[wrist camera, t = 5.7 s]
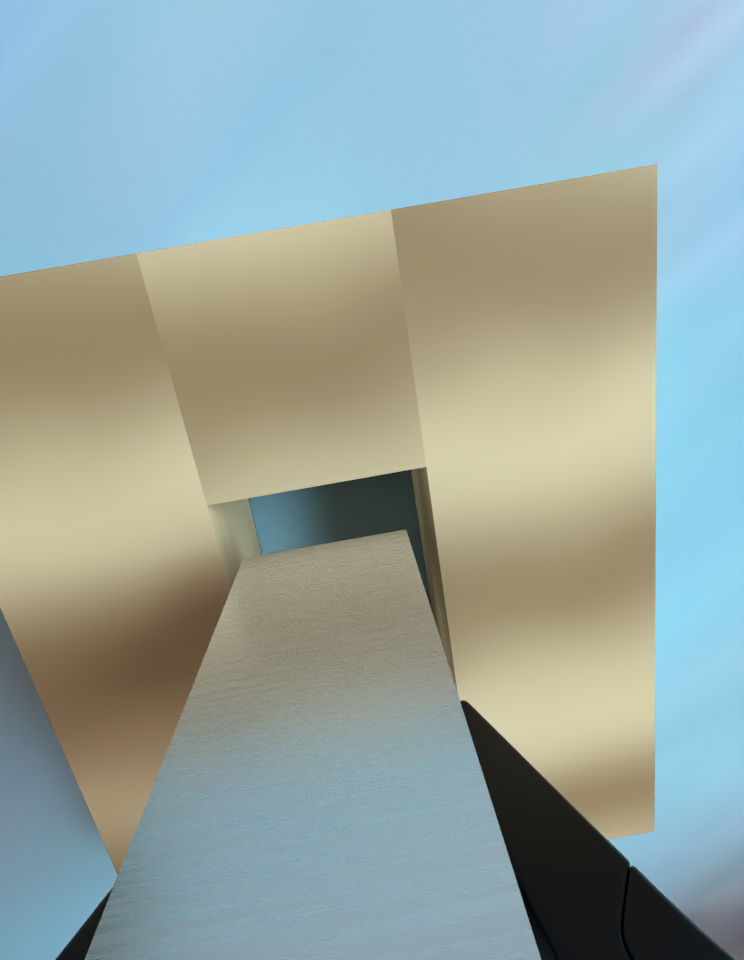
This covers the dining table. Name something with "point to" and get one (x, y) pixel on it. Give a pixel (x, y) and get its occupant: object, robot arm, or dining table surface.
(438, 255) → the well block
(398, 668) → the tall grey box
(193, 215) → the dining table surface
